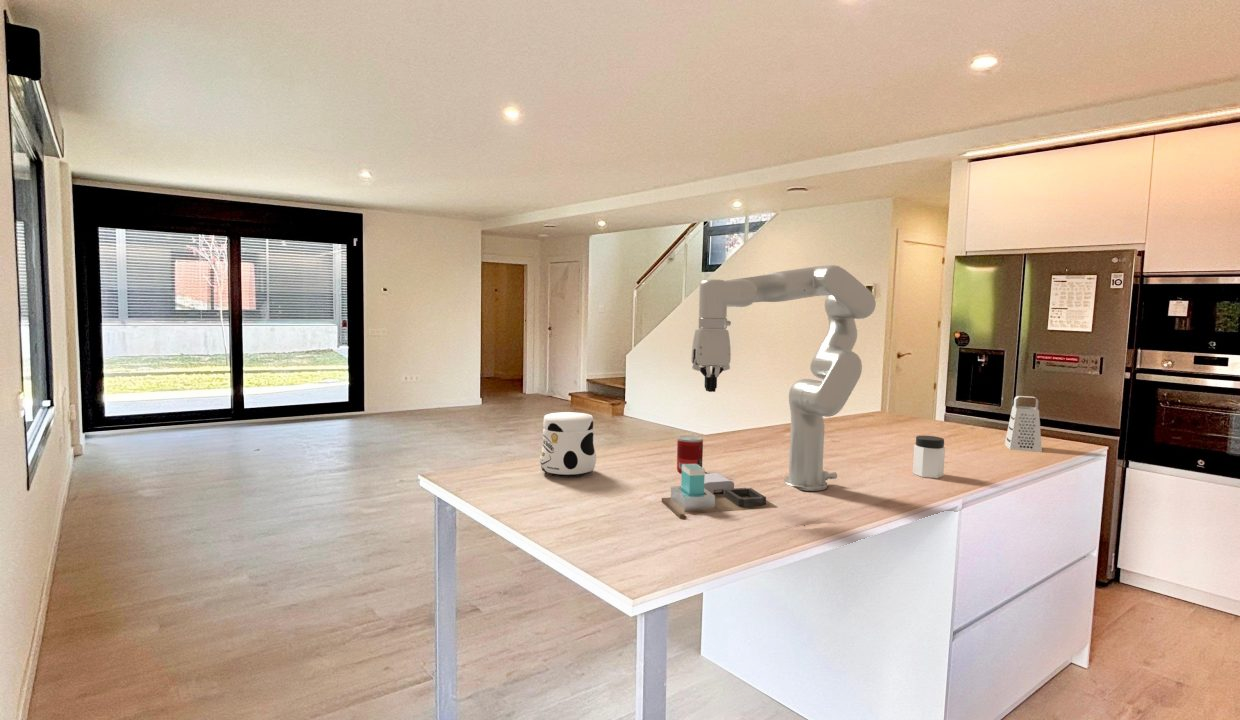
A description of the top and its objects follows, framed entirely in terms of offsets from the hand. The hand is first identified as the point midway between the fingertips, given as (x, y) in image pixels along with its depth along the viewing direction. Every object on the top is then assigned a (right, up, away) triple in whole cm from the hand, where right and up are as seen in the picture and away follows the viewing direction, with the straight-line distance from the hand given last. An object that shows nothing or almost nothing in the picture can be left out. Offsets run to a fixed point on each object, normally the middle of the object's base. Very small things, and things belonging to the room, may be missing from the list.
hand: (710, 391), depth 179 cm
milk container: (-41, -27, +22) cm, 54 cm away
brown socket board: (+1, -30, -9) cm, 31 cm away
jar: (+73, -28, +28) cm, 83 cm away
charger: (0, -29, +6) cm, 30 cm away
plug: (-6, -29, -11) cm, 31 cm away
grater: (+131, -26, +72) cm, 151 cm away
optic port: (-6, -30, -11) cm, 32 cm away
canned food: (-3, -27, +27) cm, 38 cm away
